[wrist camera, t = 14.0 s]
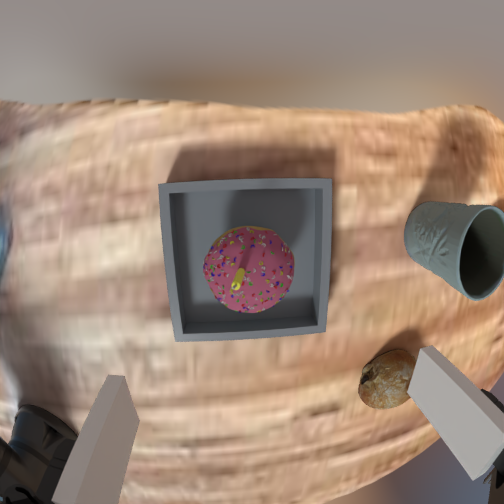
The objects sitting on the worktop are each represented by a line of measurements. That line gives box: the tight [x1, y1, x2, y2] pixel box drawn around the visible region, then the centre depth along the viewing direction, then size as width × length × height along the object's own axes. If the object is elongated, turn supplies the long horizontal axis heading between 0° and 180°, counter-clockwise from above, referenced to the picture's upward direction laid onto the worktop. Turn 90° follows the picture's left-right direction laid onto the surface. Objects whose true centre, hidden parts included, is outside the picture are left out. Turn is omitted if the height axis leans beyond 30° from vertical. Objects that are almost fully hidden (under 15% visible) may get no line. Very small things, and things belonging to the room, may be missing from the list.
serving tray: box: [158, 178, 332, 342], centre depth 31 cm, size 17×17×4 cm
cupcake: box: [203, 226, 295, 313], centre depth 26 cm, size 9×8×12 cm
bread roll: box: [358, 349, 417, 409], centre depth 37 cm, size 10×10×8 cm
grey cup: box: [404, 202, 504, 301], centre depth 29 cm, size 10×10×12 cm
